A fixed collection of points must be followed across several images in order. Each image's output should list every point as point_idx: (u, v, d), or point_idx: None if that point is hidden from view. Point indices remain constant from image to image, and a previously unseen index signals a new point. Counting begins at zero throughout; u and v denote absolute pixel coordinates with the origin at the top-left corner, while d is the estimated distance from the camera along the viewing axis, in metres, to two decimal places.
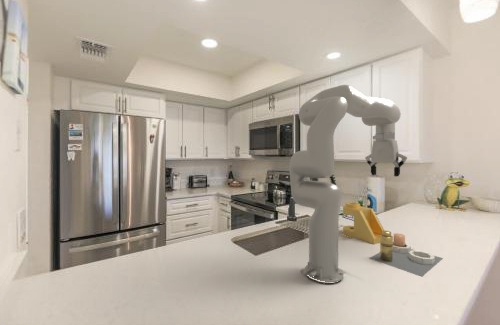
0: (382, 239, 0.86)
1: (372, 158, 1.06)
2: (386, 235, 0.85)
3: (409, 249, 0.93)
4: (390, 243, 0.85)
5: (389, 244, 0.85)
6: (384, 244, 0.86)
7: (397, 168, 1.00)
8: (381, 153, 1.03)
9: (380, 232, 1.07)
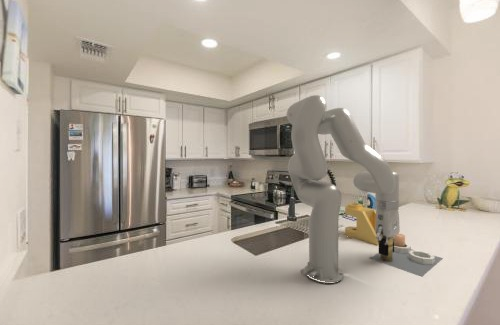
0: None
1: (389, 233, 0.82)
2: None
3: (409, 249, 0.93)
4: (390, 243, 0.85)
5: (389, 244, 0.85)
6: None
7: None
8: (394, 225, 0.84)
9: None
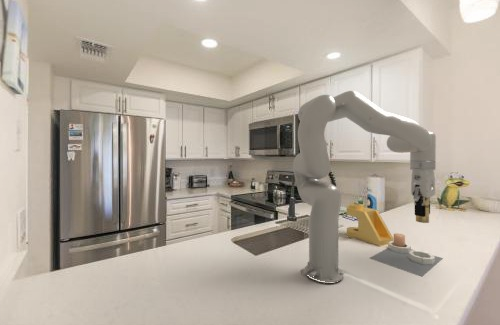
0: None
1: (427, 193, 0.81)
2: (422, 196, 0.84)
3: (409, 249, 0.93)
4: (427, 204, 0.84)
5: (426, 205, 0.84)
6: None
7: None
8: (431, 185, 0.83)
9: (385, 234, 1.05)
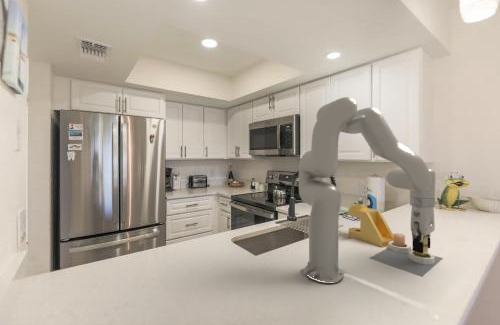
0: None
1: (426, 230, 0.81)
2: None
3: (409, 249, 0.93)
4: (425, 243, 0.84)
5: (424, 244, 0.84)
6: None
7: (428, 238, 0.88)
8: (431, 222, 0.84)
9: (388, 234, 1.04)
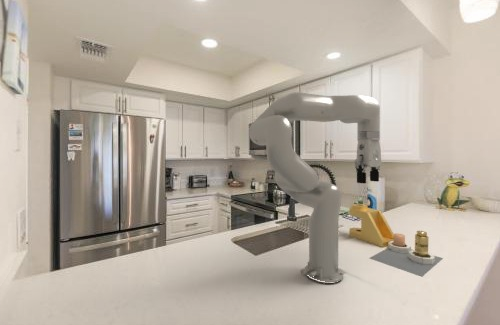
0: (417, 239, 0.86)
1: (369, 162, 0.83)
2: (422, 235, 0.85)
3: (409, 249, 0.93)
4: (426, 243, 0.84)
5: (425, 244, 0.84)
6: (419, 244, 0.85)
7: None
8: (375, 155, 0.85)
9: (389, 235, 1.04)
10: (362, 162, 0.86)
